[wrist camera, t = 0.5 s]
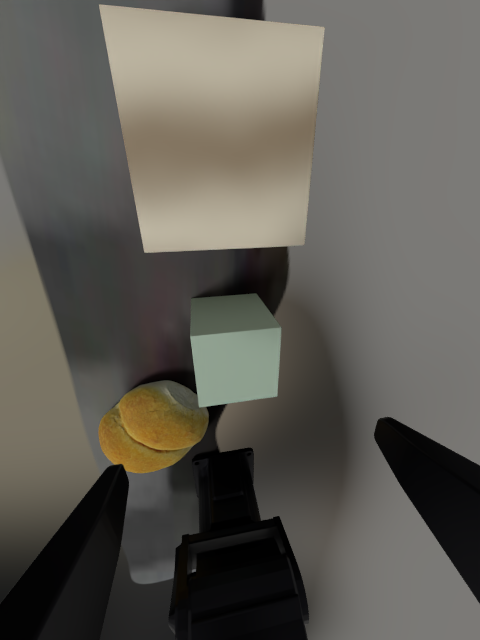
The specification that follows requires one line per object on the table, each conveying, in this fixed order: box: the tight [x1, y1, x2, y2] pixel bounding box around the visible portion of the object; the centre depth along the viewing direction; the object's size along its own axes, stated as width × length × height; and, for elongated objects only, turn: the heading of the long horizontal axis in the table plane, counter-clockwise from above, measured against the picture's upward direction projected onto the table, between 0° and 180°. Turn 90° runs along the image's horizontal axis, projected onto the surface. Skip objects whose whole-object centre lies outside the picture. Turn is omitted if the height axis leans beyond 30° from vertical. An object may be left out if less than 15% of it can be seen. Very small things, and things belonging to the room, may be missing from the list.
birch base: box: [99, 4, 325, 253], centre depth 13 cm, size 9×9×4 cm
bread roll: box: [99, 380, 209, 473], centre depth 20 cm, size 8×9×4 cm
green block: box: [190, 294, 281, 408], centre depth 17 cm, size 5×5×6 cm
